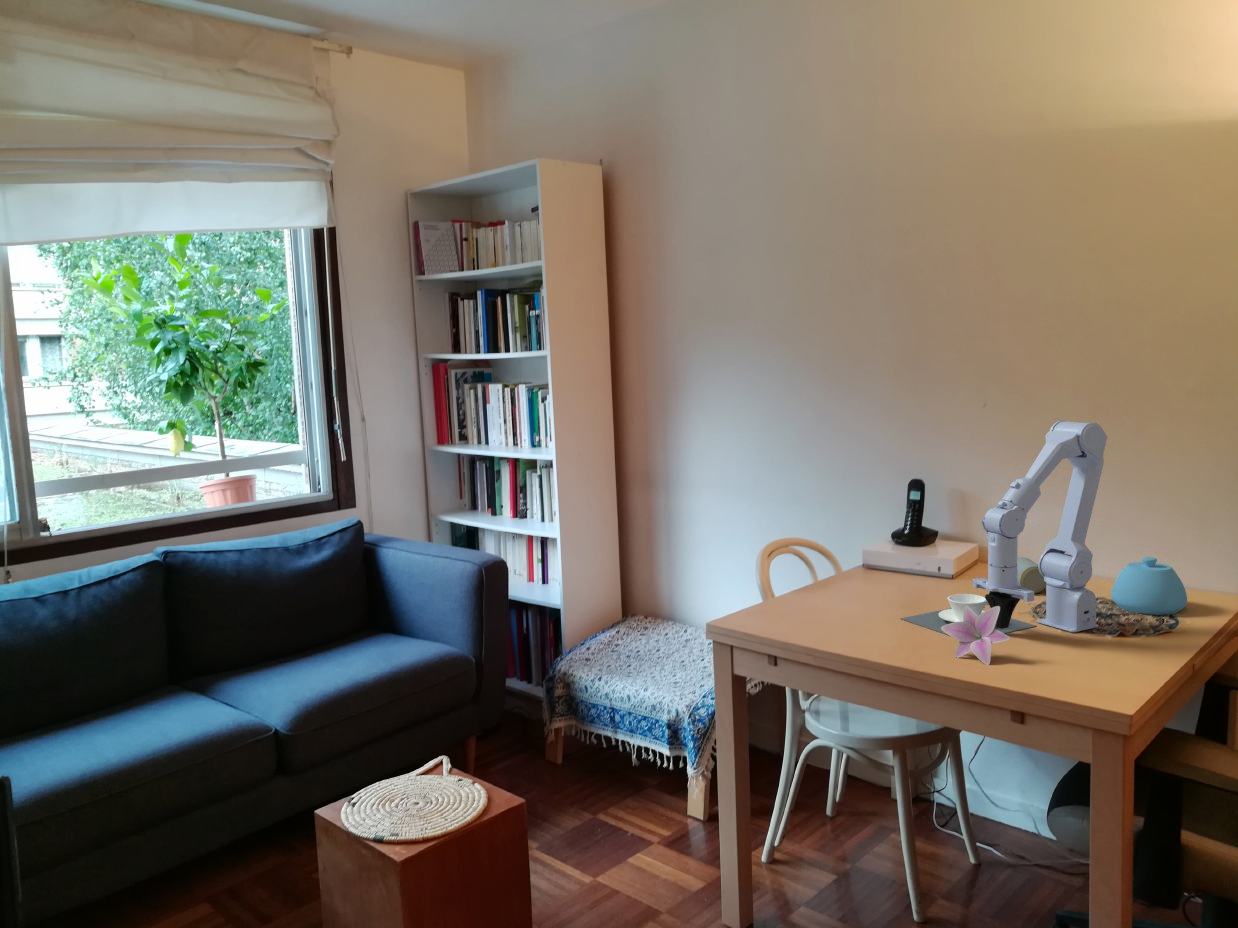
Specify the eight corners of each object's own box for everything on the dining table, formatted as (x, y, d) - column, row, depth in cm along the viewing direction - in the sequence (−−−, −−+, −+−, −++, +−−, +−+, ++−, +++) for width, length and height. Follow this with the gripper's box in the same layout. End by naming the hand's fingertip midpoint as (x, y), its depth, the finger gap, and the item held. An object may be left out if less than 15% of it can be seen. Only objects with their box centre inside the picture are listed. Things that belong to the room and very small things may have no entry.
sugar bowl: (1182, 620, 199) (1184, 568, 197) (1105, 611, 208) (1106, 561, 207) (1190, 604, 211) (1191, 554, 209) (1117, 596, 220) (1118, 548, 218)
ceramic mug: (1020, 595, 224) (1021, 564, 223) (1005, 587, 232) (1006, 557, 231) (1063, 594, 224) (1064, 563, 223) (1046, 585, 232) (1047, 556, 231)
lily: (936, 652, 188) (930, 619, 183) (980, 624, 190) (976, 590, 185) (979, 687, 178) (975, 652, 173) (1025, 656, 181) (1022, 621, 176)
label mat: (1036, 626, 199) (1036, 625, 199) (967, 641, 190) (967, 640, 190) (966, 605, 217) (966, 604, 217) (900, 618, 208) (900, 617, 208)
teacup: (1001, 630, 196) (1001, 605, 196) (942, 629, 199) (942, 605, 198) (990, 614, 208) (990, 591, 208) (935, 613, 211) (934, 591, 210)
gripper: (962, 560, 198) (962, 622, 199) (1016, 573, 185) (1016, 639, 186) (986, 556, 201) (986, 616, 202) (1041, 569, 188) (1041, 633, 189)
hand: (1002, 627), depth 194 cm, fingers closed
